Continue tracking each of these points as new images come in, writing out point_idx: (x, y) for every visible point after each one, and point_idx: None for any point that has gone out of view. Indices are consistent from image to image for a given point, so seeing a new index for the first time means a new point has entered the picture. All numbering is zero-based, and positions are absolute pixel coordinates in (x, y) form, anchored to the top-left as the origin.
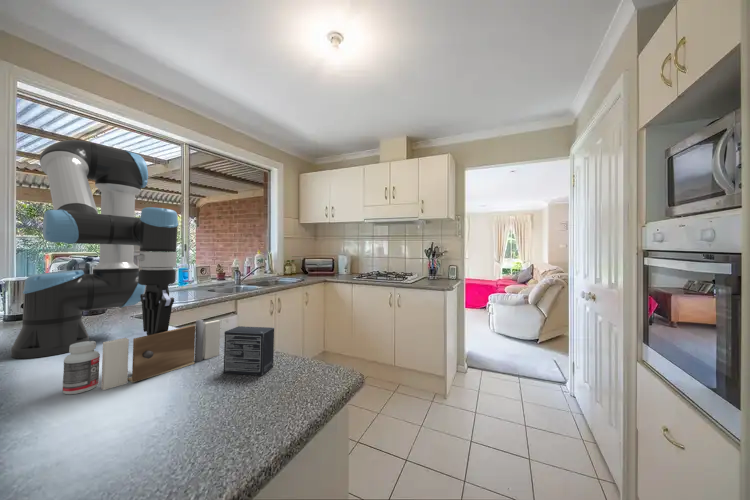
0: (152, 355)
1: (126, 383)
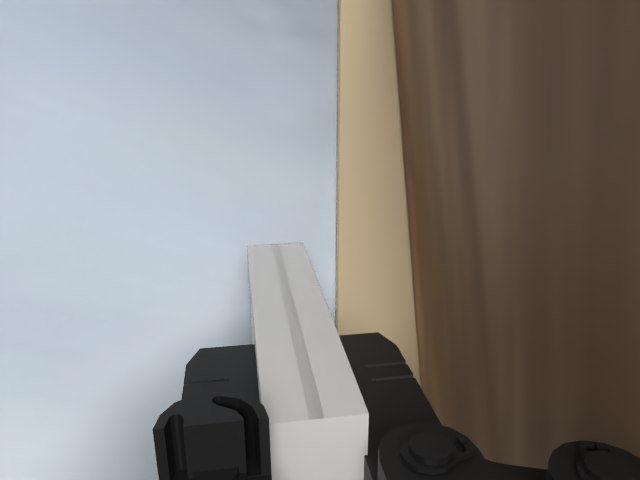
0: None
1: None
